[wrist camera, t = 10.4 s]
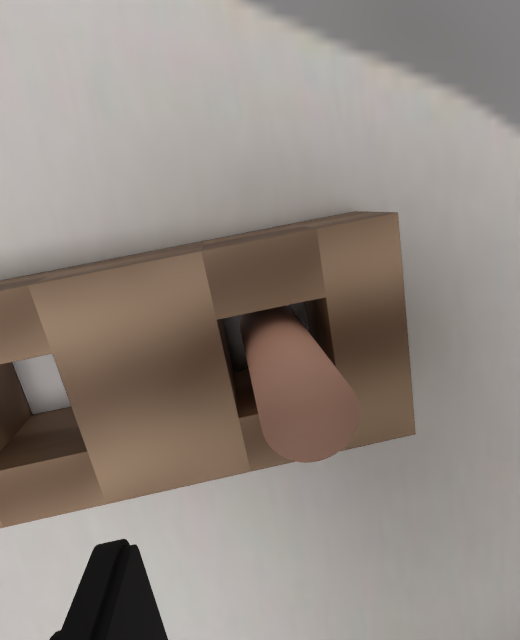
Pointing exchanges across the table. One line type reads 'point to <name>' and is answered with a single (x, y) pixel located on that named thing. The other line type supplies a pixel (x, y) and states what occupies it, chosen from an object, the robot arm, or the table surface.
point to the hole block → (190, 359)
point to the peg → (297, 388)
